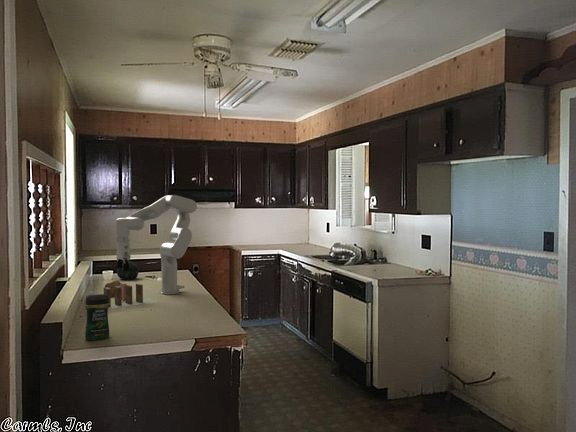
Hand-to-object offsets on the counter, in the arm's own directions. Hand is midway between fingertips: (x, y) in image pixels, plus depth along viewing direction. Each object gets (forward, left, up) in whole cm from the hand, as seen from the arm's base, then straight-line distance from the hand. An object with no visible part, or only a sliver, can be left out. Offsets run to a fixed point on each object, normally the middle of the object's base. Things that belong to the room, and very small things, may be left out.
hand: (122, 269), depth 281 cm
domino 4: (+1, +12, -18) cm, 21 cm away
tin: (-1, -19, -18) cm, 26 cm away
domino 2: (+7, +12, -18) cm, 23 cm away
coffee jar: (+36, +67, -18) cm, 78 cm away
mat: (+2, +12, -18) cm, 22 cm away
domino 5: (-5, +12, -18) cm, 22 cm away
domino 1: (+13, +12, -18) cm, 25 cm away
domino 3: (0, 0, -18) cm, 18 cm away
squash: (-30, -69, -18) cm, 77 cm away
